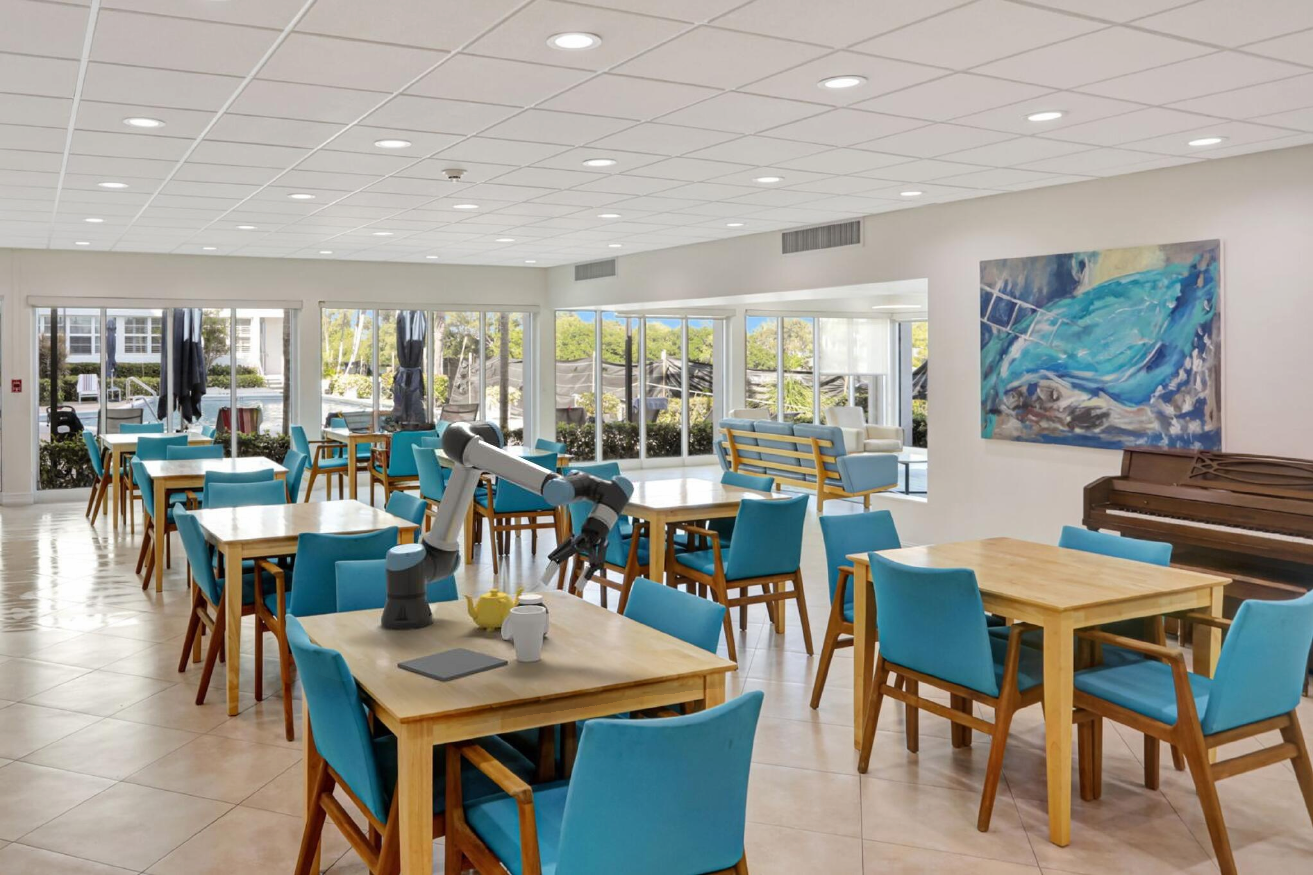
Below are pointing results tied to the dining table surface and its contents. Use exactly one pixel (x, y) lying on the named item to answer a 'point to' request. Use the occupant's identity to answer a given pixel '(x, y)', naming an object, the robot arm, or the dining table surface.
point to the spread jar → (524, 601)
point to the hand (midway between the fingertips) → (560, 585)
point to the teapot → (492, 608)
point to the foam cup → (528, 631)
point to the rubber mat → (452, 664)
